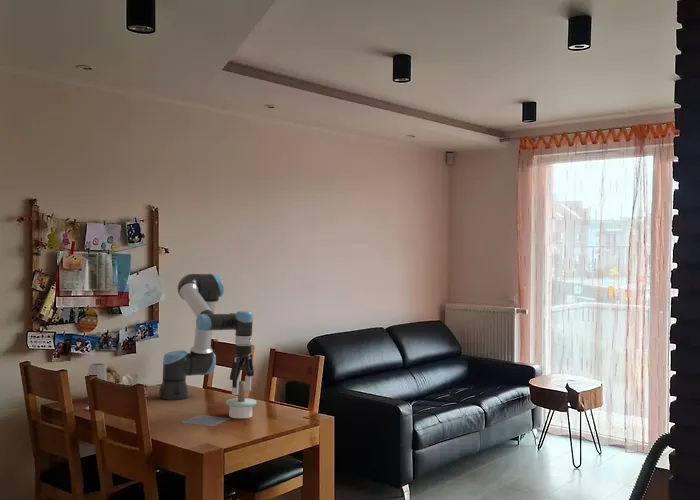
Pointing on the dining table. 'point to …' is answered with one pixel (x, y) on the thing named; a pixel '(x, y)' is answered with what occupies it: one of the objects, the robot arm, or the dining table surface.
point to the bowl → (240, 412)
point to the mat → (205, 420)
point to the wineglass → (97, 372)
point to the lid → (241, 398)
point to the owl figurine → (113, 374)
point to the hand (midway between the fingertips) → (241, 392)
